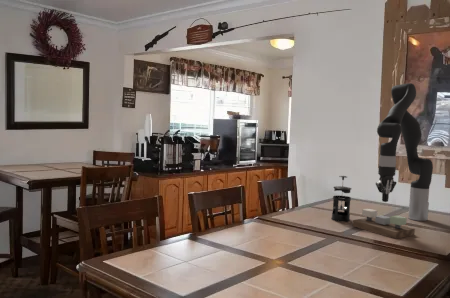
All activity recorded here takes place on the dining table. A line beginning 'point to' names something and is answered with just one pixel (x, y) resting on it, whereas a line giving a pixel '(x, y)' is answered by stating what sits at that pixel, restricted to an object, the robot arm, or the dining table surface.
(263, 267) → the dining table surface
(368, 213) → the cream block
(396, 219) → the sage key
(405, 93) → the robot arm
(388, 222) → the grey squarish block
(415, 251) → the dining table surface
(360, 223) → the key panel
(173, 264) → the dining table surface
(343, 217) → the french press
